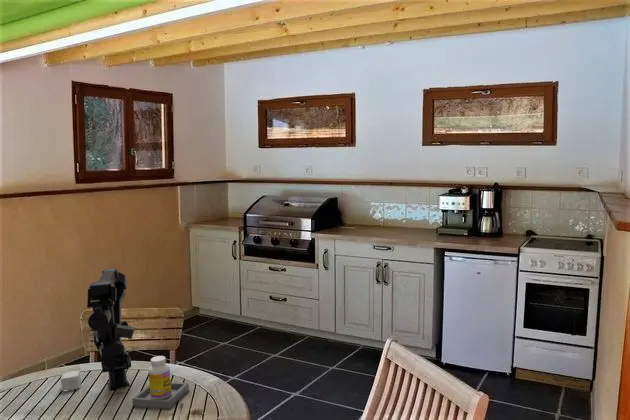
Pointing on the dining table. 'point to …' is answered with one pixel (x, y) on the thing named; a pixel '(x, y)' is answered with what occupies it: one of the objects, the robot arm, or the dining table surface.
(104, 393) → the dining table surface
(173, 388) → the tray
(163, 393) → the supplement bottle
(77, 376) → the small box
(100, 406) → the dining table surface
